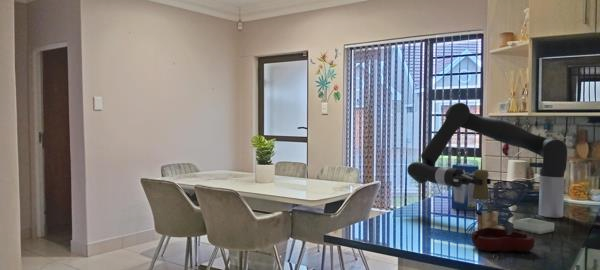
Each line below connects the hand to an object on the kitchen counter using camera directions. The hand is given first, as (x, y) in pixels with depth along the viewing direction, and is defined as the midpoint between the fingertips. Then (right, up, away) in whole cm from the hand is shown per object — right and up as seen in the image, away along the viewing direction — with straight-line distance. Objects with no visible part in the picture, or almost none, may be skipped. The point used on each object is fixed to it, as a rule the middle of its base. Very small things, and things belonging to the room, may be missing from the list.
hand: (486, 182), depth 178 cm
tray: (+17, -18, -2) cm, 25 cm away
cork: (-1, -7, +2) cm, 7 cm away
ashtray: (-7, -19, -28) cm, 34 cm away
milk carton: (+5, -16, +38) cm, 42 cm away
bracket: (+1, -17, -2) cm, 18 cm away
